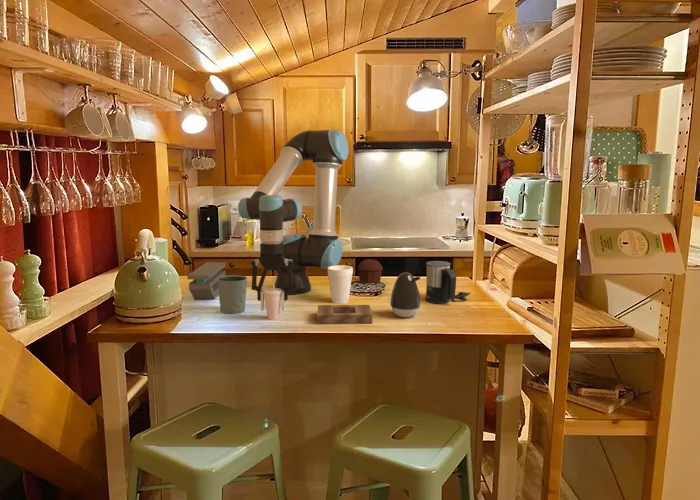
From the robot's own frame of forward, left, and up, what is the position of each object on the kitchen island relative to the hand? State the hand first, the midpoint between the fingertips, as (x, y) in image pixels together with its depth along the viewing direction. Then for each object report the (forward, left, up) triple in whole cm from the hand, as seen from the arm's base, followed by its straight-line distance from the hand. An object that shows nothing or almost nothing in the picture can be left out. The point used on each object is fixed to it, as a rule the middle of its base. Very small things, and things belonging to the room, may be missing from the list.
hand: (273, 309), depth 175 cm
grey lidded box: (-42, +2, -3) cm, 42 cm away
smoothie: (0, 0, -3) cm, 3 cm away
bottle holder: (+18, +16, -3) cm, 24 cm away
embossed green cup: (-17, -4, -3) cm, 18 cm away
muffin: (-10, +63, -3) cm, 64 cm away
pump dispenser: (+31, +33, -3) cm, 45 cm away
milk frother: (+31, +60, -3) cm, 68 cm away
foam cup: (+2, +31, -3) cm, 31 cm away
